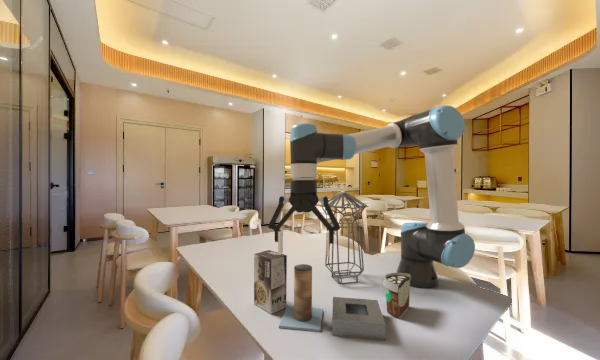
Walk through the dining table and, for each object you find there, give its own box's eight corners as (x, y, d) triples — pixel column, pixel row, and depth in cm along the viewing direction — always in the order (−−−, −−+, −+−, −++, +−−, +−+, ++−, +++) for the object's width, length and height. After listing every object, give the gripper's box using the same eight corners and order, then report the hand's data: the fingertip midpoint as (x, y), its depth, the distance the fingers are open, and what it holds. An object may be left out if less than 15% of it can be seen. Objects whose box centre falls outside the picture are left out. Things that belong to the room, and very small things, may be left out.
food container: (391, 299, 85) (391, 269, 85) (410, 305, 81) (410, 273, 81) (376, 314, 76) (376, 280, 76) (397, 321, 72) (397, 285, 72)
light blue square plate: (322, 310, 77) (322, 308, 77) (320, 331, 66) (320, 329, 66) (286, 307, 79) (286, 305, 79) (278, 327, 68) (278, 325, 68)
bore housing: (377, 313, 76) (377, 300, 76) (385, 340, 63) (385, 324, 63) (332, 310, 78) (333, 296, 78) (331, 335, 65) (332, 319, 65)
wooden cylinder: (312, 312, 75) (312, 264, 75) (310, 322, 70) (311, 270, 70) (295, 311, 75) (295, 263, 75) (292, 320, 70) (292, 269, 70)
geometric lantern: (331, 288, 94) (330, 192, 95) (320, 274, 109) (319, 192, 110) (371, 285, 97) (370, 192, 98) (355, 271, 112) (353, 191, 113)
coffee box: (287, 307, 79) (287, 255, 79) (270, 314, 75) (271, 259, 75) (269, 297, 86) (269, 249, 86) (252, 304, 81) (253, 252, 81)
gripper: (347, 179, 75) (348, 252, 75) (264, 179, 78) (265, 249, 78) (348, 179, 67) (349, 259, 67) (257, 179, 71) (257, 256, 71)
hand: (303, 254), depth 73 cm, fingers open, 13 cm apart
